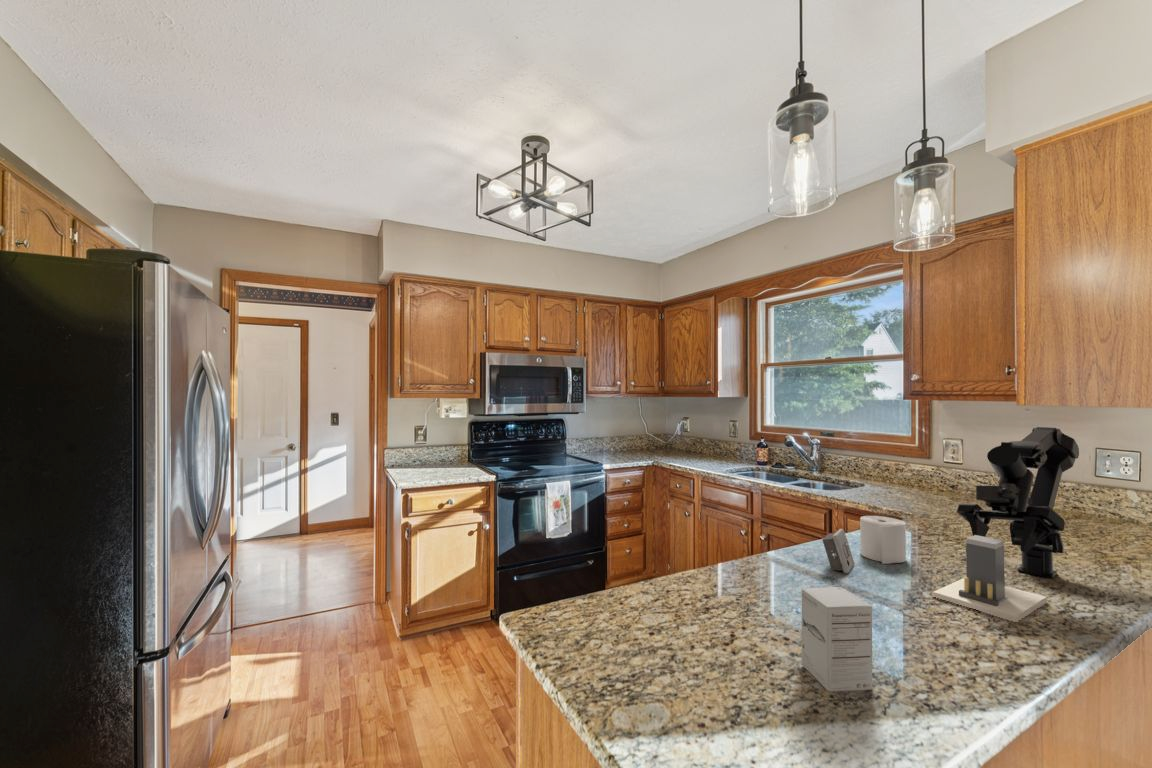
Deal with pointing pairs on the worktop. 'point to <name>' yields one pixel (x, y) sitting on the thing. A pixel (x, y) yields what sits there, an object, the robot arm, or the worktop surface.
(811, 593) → the supplement box
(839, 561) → the electrical switch
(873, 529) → the toilet tissue
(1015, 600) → the board
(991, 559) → the plug block
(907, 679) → the worktop surface
